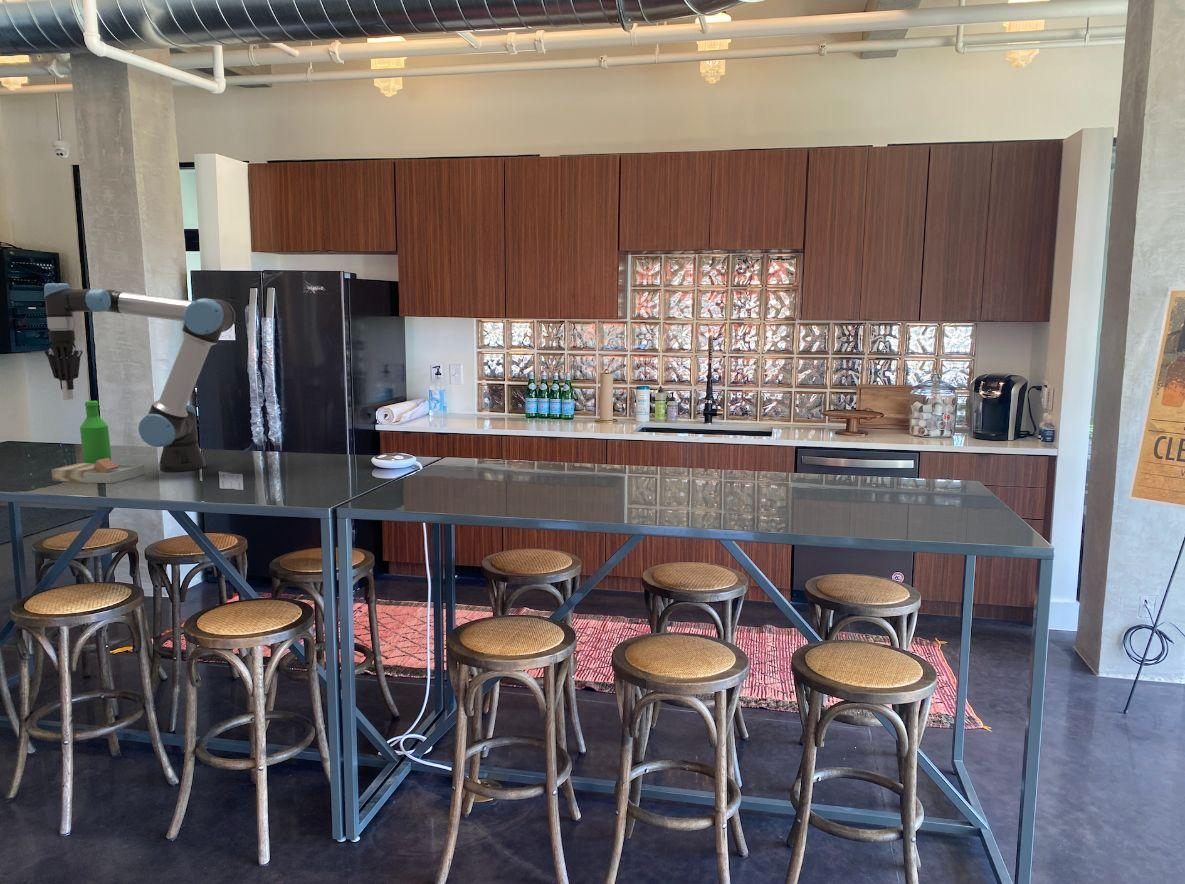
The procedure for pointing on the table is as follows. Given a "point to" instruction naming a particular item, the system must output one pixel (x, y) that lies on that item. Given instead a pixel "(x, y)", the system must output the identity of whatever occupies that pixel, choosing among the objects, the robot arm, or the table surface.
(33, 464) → the table surface
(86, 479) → the box
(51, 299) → the robot arm
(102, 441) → the bottle
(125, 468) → the tile slate
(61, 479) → the bench plate
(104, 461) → the tile terracotta
